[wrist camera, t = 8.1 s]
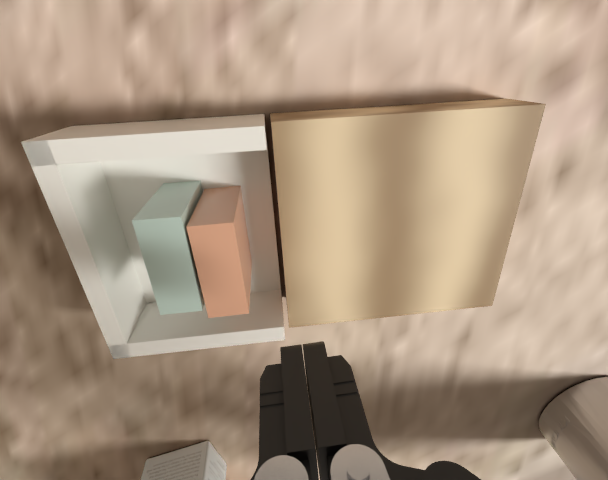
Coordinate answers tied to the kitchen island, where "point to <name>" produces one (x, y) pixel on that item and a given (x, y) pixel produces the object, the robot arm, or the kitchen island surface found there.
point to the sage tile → (170, 247)
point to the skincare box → (187, 464)
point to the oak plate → (398, 205)
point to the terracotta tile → (222, 251)
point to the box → (132, 198)
